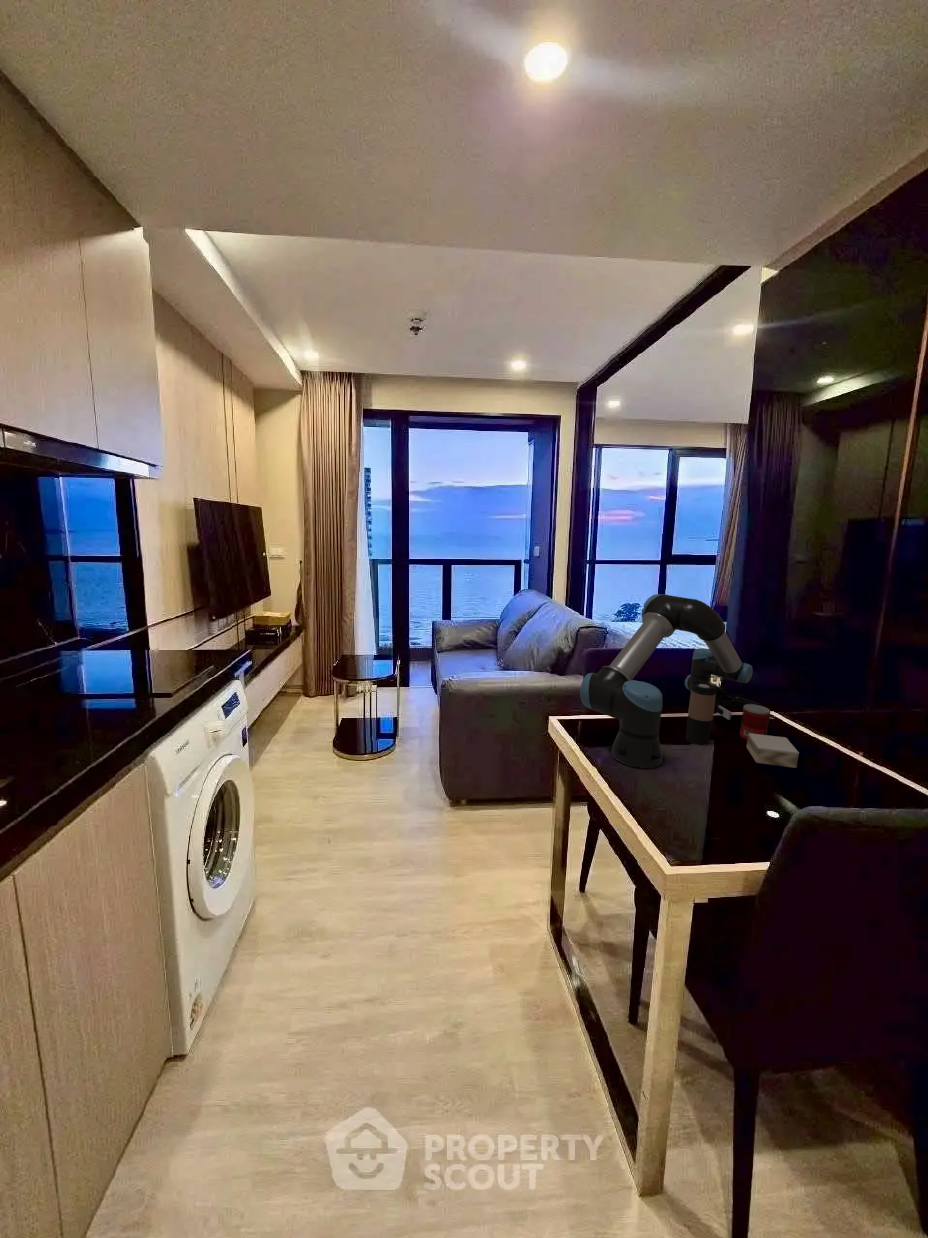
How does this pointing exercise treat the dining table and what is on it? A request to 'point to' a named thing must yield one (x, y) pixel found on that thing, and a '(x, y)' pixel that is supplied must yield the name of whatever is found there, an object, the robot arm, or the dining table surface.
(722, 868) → the dining table surface
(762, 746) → the birch plinth
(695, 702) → the travel mug
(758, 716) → the canned food
